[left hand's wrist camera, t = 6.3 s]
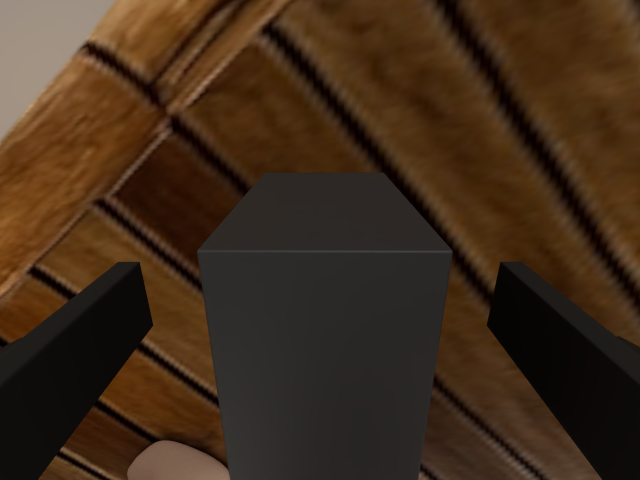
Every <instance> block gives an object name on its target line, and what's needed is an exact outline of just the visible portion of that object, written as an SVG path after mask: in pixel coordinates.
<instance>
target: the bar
mask: <svg viewBox="0 0 640 480" xmlns="http://www.w3.org/2000/svg"><path fill="white" fill-rule="evenodd" d="M197 254H198V261H199V268H200V275H201V281H202V288H203V295H204V302H205V309H206V316H207V323H208V330H209V337H210V344H211V351H212V358H213V365H214V372H215V379H216V386H217V393H218V399H219V406H220V413H221V420H222V427H223V434H224V441H225V448H226V455H227V462H228V469H229V476H230V480H418V476H419V470H420V463H421V457H422V450H423V444H424V437H425V431H426V424H427V417H428V411H429V404H430V398H431V391H432V385H433V378H434V372H435V365H436V359H437V352H438V345H439V339H440V332H441V326H442V319H443V313H444V306H445V300H446V293H447V286H448V280H449V273H450V267H451V260H452V254H453V252H452V250H451V249H450V248H449V247H448V245H447V244H446V243H445V242H444V241H443V240H442V239H441V238H440V236H439V235H438V234H437V233H436V232H435V231H434V230H433V228H432V227H431V226H430V225H429V224H428V223H427V222H426V221H425V219H424V218H423V217H422V216H421V215H420V214H419V213H418V211H417V210H416V209H415V208H414V207H413V206H412V205H411V204H410V202H409V201H408V200H407V199H406V198H405V197H404V196H403V195H402V193H401V192H400V191H399V190H398V189H397V188H396V187H395V185H394V184H393V183H392V182H391V181H390V180H389V179H388V178H387V176H386V175H385V174H384V173H264V174H263V175H262V177H261V178H260V179H259V180H258V181H257V182H256V184H255V185H254V186H253V187H252V188H251V189H250V190H249V192H248V193H247V194H246V195H245V196H244V197H243V199H242V200H241V201H240V202H239V203H238V204H237V205H236V207H235V208H234V209H233V210H232V211H231V212H230V213H229V215H228V216H227V217H226V218H225V219H224V220H223V222H222V223H221V224H220V225H219V226H218V227H217V228H216V230H215V231H214V232H213V233H212V234H211V235H210V237H209V238H208V239H207V240H206V241H205V242H204V243H203V245H202V246H201V247H200V248H199V249H198V251H197Z"/></svg>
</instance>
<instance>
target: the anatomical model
mask: <svg viewBox="0 0 640 480" xmlns="http://www.w3.org/2000/svg"><path fill="white" fill-rule="evenodd" d="M127 475H128V479H129V480H230V476H229V471H228V469H227V468H226V467H225V466H224V465H223V464H222V463H220V462H219V461H218V460H216V459H214V458H213V457H211V456H209V455H207V454H205V453H203V452H201V451H199V450H197V449H194V448H192V447H190V446H187V445H184V444H181V443H178V442H174V441H169V440H163V441H158V442H156V443H154V444H152V445H151V446H149V447H148V448H147V449H145V450H144V451H143V452H142V453H141V454H140V455H139V456H138V457H137V458H136V459H135V460H134V461H133V463H132V464H131V465H130V467H129V469H128V473H127Z"/></svg>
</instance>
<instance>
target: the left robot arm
mask: <svg viewBox="0 0 640 480" xmlns="http://www.w3.org/2000/svg"><path fill="white" fill-rule="evenodd" d="M152 326H153V322H152V317H151V313H150V308H149V304H148V299H147V294H146V290H145V285H144V280H143V276H142V271H141V267H140V262H118V263H117V264H115V265H114V266H113V267H111V268H110V269H109V270H108V271H106V272H105V273H104V274H103V275H101V276H100V277H99V278H98V279H96V280H95V281H94V282H92V283H91V284H90V285H89V286H87V287H86V288H85V289H84V290H82V291H81V292H80V293H79V294H77V295H76V296H75V297H74V298H72V299H71V300H70V301H68V302H67V303H66V304H65V305H63V306H62V307H61V308H60V309H58V310H57V311H56V312H55V313H53V314H52V315H51V316H50V317H48V318H47V319H46V320H44V321H43V322H42V323H41V324H39V325H38V326H37V327H36V328H34V329H33V330H32V331H31V332H29V333H28V334H27V335H26V336H24V337H23V338H20V339H18V340H16V341H14V342H12V343H10V344H8V345H6V346H4V347H3V348H1V349H0V480H38V479H39V477H40V476H41V475H42V473H43V472H44V471H45V469H46V468H47V467H48V465H49V464H50V463H51V461H52V460H53V459H54V457H55V456H56V455H57V453H58V452H59V451H60V449H61V448H62V447H63V445H64V444H65V443H66V441H67V440H68V439H69V437H70V436H71V435H72V433H73V432H74V431H75V429H76V428H77V427H78V425H79V424H80V423H81V421H82V420H83V419H84V417H85V416H86V415H87V413H88V412H89V410H90V409H91V408H92V406H93V405H94V404H95V402H96V401H97V400H98V398H99V397H100V396H101V394H102V393H103V392H104V390H105V389H106V388H107V386H108V385H109V384H110V382H111V381H112V380H113V378H114V377H115V376H116V374H117V373H118V372H119V370H120V369H121V368H122V366H123V365H124V364H125V362H126V361H127V360H128V358H129V357H130V356H131V354H132V353H133V352H134V350H135V349H136V348H137V346H138V345H139V344H140V342H141V341H142V340H143V338H144V337H145V336H146V334H147V333H148V332H149V330H150V329H151V328H152ZM487 326H488V328H489V329H490V330H491V332H492V333H493V334H494V336H495V337H496V338H497V340H498V341H499V342H500V344H501V345H502V346H503V348H504V349H505V350H506V352H507V353H508V354H509V356H510V357H511V358H512V360H513V361H514V362H515V364H516V365H517V366H518V368H519V369H520V370H521V372H522V373H523V374H524V376H525V377H526V378H527V380H528V381H529V382H530V384H531V385H532V386H533V388H534V389H535V390H536V392H537V393H538V394H539V396H540V397H541V398H542V400H543V401H544V402H545V404H546V405H547V406H548V408H549V409H550V410H551V412H552V413H553V415H554V416H555V417H556V419H557V420H558V421H559V423H560V424H561V425H562V427H563V428H564V429H565V431H566V432H567V433H568V435H569V436H570V437H571V439H572V440H573V441H574V443H575V444H576V445H577V447H578V448H579V449H580V451H581V452H582V453H583V455H584V456H585V457H586V459H587V460H588V461H589V463H590V464H591V465H592V467H593V468H594V469H595V471H596V472H597V473H598V475H599V476H600V477H601V479H602V480H640V347H638V346H637V345H635V344H633V343H631V342H629V341H627V340H625V339H623V338H621V337H616V336H614V335H613V334H612V333H611V332H609V331H608V330H607V329H606V328H604V327H603V326H602V325H601V324H599V323H598V322H597V321H596V320H594V319H593V318H592V317H590V316H589V315H588V314H587V313H585V312H584V311H583V310H582V309H580V308H579V307H578V306H577V305H575V304H574V303H573V302H572V301H570V300H569V299H568V298H566V297H565V296H564V295H563V294H561V293H560V292H559V291H558V290H556V289H555V288H554V287H553V286H551V285H550V284H549V283H547V282H546V281H545V280H544V279H542V278H541V277H540V276H539V275H537V274H536V273H535V272H534V271H532V270H531V269H530V268H529V267H527V266H526V265H525V264H523V263H522V262H500V267H499V271H498V276H497V280H496V285H495V290H494V294H493V299H492V304H491V308H490V313H489V317H488V322H487Z"/></svg>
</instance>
